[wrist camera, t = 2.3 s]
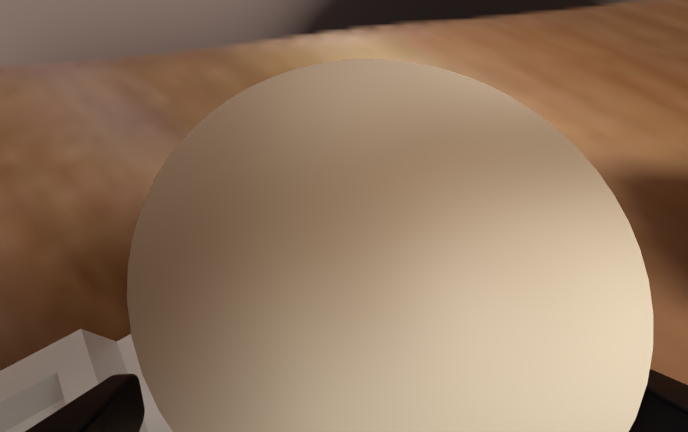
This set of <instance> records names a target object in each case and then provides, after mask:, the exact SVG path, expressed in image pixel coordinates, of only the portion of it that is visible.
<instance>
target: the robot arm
mask: <svg viewBox="0 0 688 432" xmlns="http://www.w3.org/2000/svg"><path fill="white" fill-rule="evenodd" d="M144 414H145V408H144V402H143V397H142V392H141V387H140V382H139V378H138V377H137V375H135V374H116V375H112V376H110V377H108V378H107V379H105V380H104V381H102V382H101V383H99V384H98V385H96V386H94V387H93V388H91V389H90V390H88V391H87V392H85V393H84V394H82V395H81V396H79V397H77V398H76V399H74V400H73V401H71V402H70V403H68V404H67V405H65V406H64V407H62V408H60V409H59V410H57V411H56V412H54V413H53V414H51V415H50V416H48V417H47V418H45V419H43V420H42V421H40V422H39V423H37V424H36V425H34V426H33V427H31V428H30V429H28V430H26V431H25V432H139V431H140V429H141V426H142V423H143V419H144ZM629 432H688V385H686V384H684V383H681V382H679V381H677V380H674V379H672V378H670V377H667V376H665V375H663V374H661V373H658V372H656V371H654V370H651V369H650V370H649V377H648V383H647V386H646V389H645V392H644V395H643V398H642V401H641V404H640V407H639V410H638V413H637V416H636V419H635V421H634V423H633V425H632V426H631V428H630V430H629Z"/></svg>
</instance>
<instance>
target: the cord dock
mask: <svg viewBox="0 0 688 432" xmlns="http://www.w3.org/2000/svg"><path fill="white" fill-rule="evenodd" d="M116 374H135V375H137V377H138V378H139V382H140V387H141V392H142V397H143V402H144V408H145V414H144V419H143V423H142V426H141V429H140V431H139V432H173V431H172V430H171V428H170V427H169V425H168V424H167V422H166V421H165V419H164V418H163V416H162V415H161V413H160V412H159V410H158V408H157V405H156V403H155V401H154V399H153V397H152V394H151V392H150V390H149V388H148V386H147V384H146V381H145V379H144V377H143V375H142V372H141V369H140V365H139V361H138V358H137V354H136V351H135V347H134V344H133V340H132V337H131V334H130V335H128V336H126V337H124V338H122V339H120V340H119V341H114V340H111V339H108V338H105V337H103V336H100V335H97V334H94V333H91V332H89V331H86V330H83V329H79V330H77V331H76V332H74V333H72V334H70V335H68V336H66V337H64V338H62V339H60V340H58V341H56V342H55V343H53V344H51V345H49V346H47V347H45V348H43V349H41V350H39V351H37V352H35V353H34V354H32V355H30V356H28V357H26V358H24V359H22V360H20V361H18V362H16V363H14V364H12V365H11V366H9V367H7V368H5V369H3V370H1V371H0V432H25V431H26V430H28V429H30V428H31V427H33V426H34V425H36V424H37V423H39V422H40V421H42V420H43V419H45V418H47V417H48V416H50V415H51V414H53V413H54V412H56V411H57V410H59V409H60V408H62V407H64V406H65V405H67V404H68V403H70V402H71V401H73V400H74V399H76V398H77V397H79V396H81V395H82V394H84V393H85V392H87V391H88V390H90V389H91V388H93V387H94V386H96V385H98V384H99V383H101V382H102V381H104V380H105V379H107V378H108V377H110V376H112V375H116Z"/></svg>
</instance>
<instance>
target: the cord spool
mask: <svg viewBox="0 0 688 432" xmlns="http://www.w3.org/2000/svg"><path fill="white" fill-rule="evenodd" d="M127 305H128V313H129V321H130V329H131V337H132V340H133V344H134V347H135V351H136V354H137V358H138V361H139V365H140V369H141V372H142V375H143V377H144V379H145V381H146V384H147V386H148V388H149V390H150V392H151V394H152V397H153V399H154V401H155V403H156V405H157V408H158V410H159V412H160V413H161V415H162V416H163V418H164V419H165V421H166V422H167V424H168V425H169V427H170V428H171V430H172V431H173V432H629V430H630V428H631V426H632V425H633V423H634V421H635V419H636V416H637V413H638V410H639V407H640V404H641V401H642V398H643V395H644V392H645V389H646V386H647V383H648V377H649V370H650V364H651V357H652V351H653V308H652V301H651V293H650V286H649V280H648V276H647V272H646V269H645V265H644V261H643V258H642V254H641V250H640V248H639V245H638V243H637V240H636V238H635V236H634V233H633V231H632V228H631V226H630V223H629V221H628V219H627V217H626V216H625V214H624V212H623V210H622V208H621V206H620V205H619V203H618V201H617V199H616V197H615V196H614V194H613V192H612V191H611V190H610V188H609V187H608V185H607V184H606V183H605V181H604V180H603V178H602V177H601V175H600V174H599V173H598V171H597V170H596V169H595V168H594V166H593V165H592V164H591V163H590V162H589V161H588V160H587V158H586V157H585V156H584V155H583V154H582V153H581V151H580V150H579V149H578V148H577V147H576V146H575V145H574V144H573V143H572V142H570V141H569V140H568V139H567V138H566V137H565V136H564V135H563V134H562V133H561V132H560V131H559V130H558V129H556V128H555V127H554V126H553V125H551V124H550V123H549V122H547V121H546V120H545V119H544V118H542V117H541V116H540V115H539V114H537V113H536V112H534V111H533V110H531V109H530V108H528V107H526V106H525V105H523V104H522V103H520V102H519V101H517V100H516V99H514V98H512V97H510V96H508V95H506V94H504V93H503V92H501V91H499V90H497V89H495V88H493V87H491V86H489V85H486V84H484V83H482V82H479V81H477V80H474V79H472V78H470V77H467V76H464V75H461V74H458V73H455V72H451V71H448V70H445V69H441V68H437V67H433V66H428V65H424V64H419V63H412V62H405V61H398V60H383V59H354V60H341V61H333V62H325V63H319V64H315V65H310V66H306V67H302V68H297V69H294V70H291V71H288V72H285V73H282V74H279V75H276V76H273V77H271V78H269V79H267V80H264V81H262V82H260V83H258V84H255V85H253V86H251V87H249V88H248V89H246V90H244V91H242V92H241V93H239V94H237V95H235V96H234V97H232V98H230V99H229V100H227V101H226V102H225V103H223V104H222V105H221V106H219V107H218V108H216V109H215V110H214V111H212V112H211V113H210V114H208V115H207V116H206V117H205V118H204V119H203V120H202V121H201V122H200V123H199V124H197V125H196V126H195V127H194V128H193V129H192V130H191V131H190V132H189V133H188V134H187V135H186V136H185V138H184V139H183V140H182V141H181V142H180V144H179V145H178V146H177V147H176V148H175V149H174V151H173V152H172V153H171V154H170V156H169V157H168V159H167V160H166V162H165V164H164V165H163V167H162V168H161V170H160V171H159V173H158V174H157V176H156V177H155V179H154V182H153V184H152V186H151V188H150V190H149V192H148V194H147V196H146V198H145V200H144V202H143V205H142V208H141V211H140V214H139V217H138V220H137V223H136V226H135V230H134V233H133V238H132V244H131V249H130V255H129V261H128V275H127Z"/></svg>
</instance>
